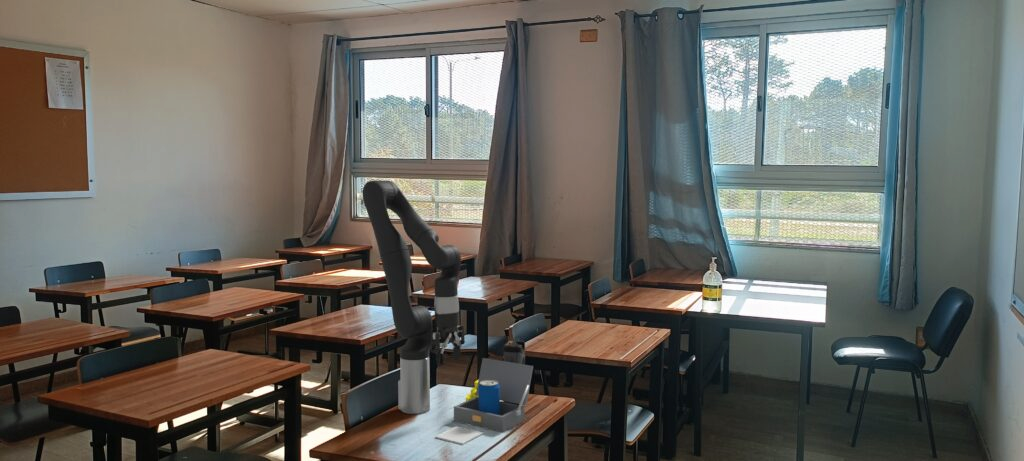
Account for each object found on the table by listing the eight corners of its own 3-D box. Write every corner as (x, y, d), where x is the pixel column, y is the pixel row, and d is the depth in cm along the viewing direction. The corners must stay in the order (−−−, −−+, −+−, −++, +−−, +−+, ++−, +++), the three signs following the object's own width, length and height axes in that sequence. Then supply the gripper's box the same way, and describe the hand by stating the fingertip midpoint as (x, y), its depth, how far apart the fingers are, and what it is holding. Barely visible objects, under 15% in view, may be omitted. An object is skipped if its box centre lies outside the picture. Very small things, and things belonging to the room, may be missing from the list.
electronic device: (520, 407, 232) (520, 346, 230) (502, 406, 233) (502, 346, 232) (525, 399, 241) (525, 340, 240) (508, 398, 242) (508, 339, 241)
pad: (435, 437, 205) (435, 436, 205) (456, 427, 214) (456, 426, 214) (463, 444, 200) (463, 443, 200) (483, 433, 208) (483, 432, 208)
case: (451, 421, 219) (451, 369, 218) (484, 406, 233) (484, 357, 232) (504, 433, 209) (504, 378, 207) (535, 416, 223) (535, 365, 222)
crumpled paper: (461, 403, 238) (461, 379, 237) (480, 397, 243) (480, 375, 242) (472, 407, 233) (472, 383, 233) (491, 401, 238) (491, 379, 238)
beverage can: (502, 418, 222) (502, 380, 221) (495, 425, 215) (495, 386, 215) (483, 416, 224) (483, 378, 223) (475, 423, 218) (475, 384, 217)
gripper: (450, 306, 229) (452, 356, 230) (422, 313, 217) (424, 366, 218) (470, 307, 225) (472, 358, 226) (442, 315, 213) (444, 369, 214)
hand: (448, 362), depth 222 cm, fingers open, 8 cm apart
